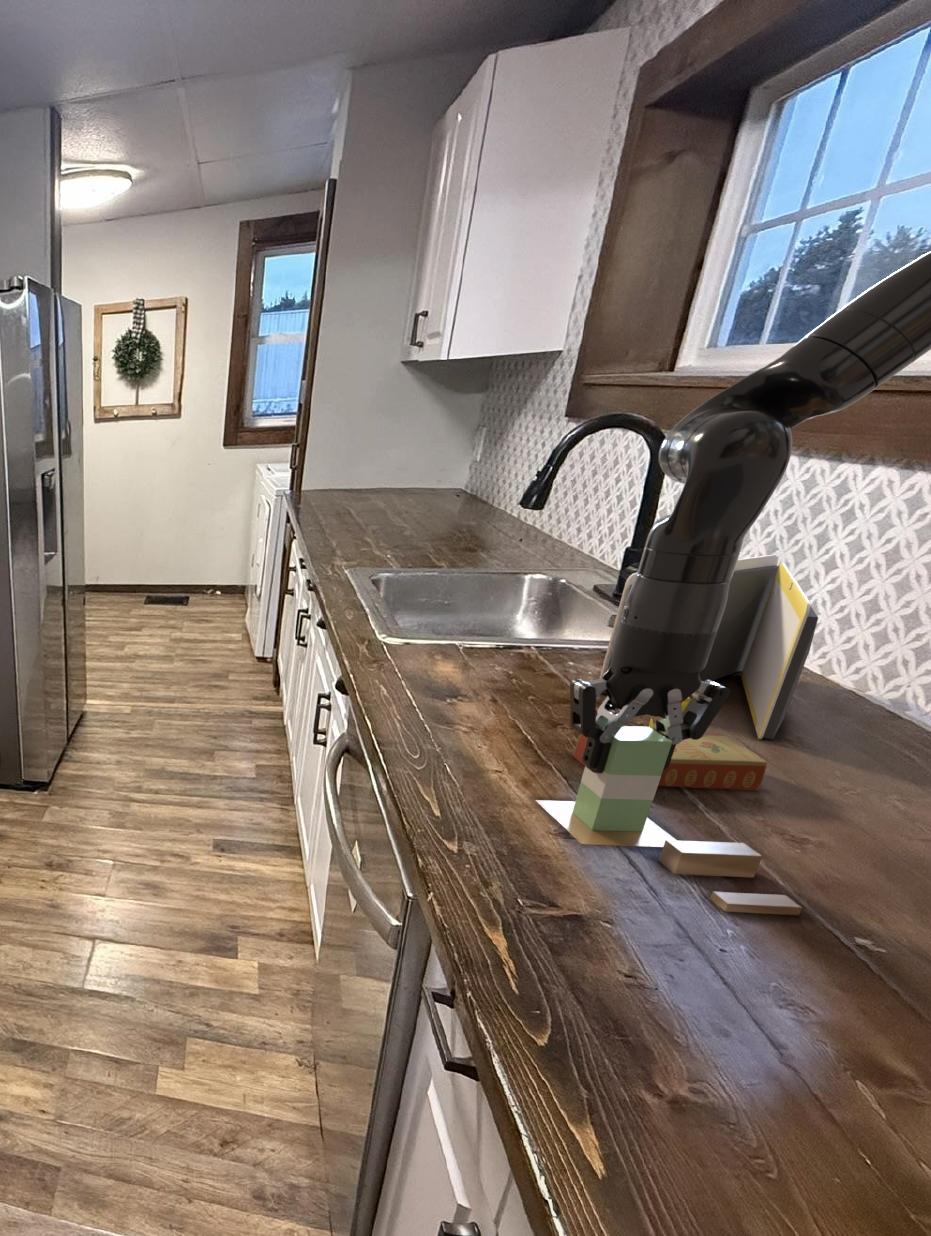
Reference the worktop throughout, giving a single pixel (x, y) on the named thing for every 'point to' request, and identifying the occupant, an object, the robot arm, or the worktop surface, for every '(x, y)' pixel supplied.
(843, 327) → the robot arm
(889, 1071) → the worktop surface
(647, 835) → the coaster
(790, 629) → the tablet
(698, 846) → the wooden bars
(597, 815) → the packet
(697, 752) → the carton
